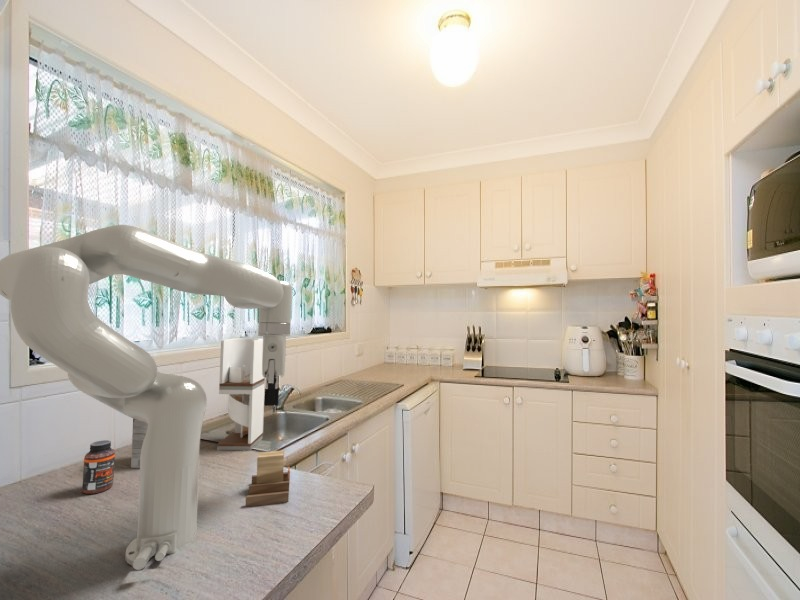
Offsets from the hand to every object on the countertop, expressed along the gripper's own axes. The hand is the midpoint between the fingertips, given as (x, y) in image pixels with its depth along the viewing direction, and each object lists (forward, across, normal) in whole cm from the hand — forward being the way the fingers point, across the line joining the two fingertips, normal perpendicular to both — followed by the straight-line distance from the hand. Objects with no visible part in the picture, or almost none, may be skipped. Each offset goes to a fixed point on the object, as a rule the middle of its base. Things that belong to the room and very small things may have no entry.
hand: (271, 404), depth 90 cm
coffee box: (+22, +29, +34) cm, 50 cm away
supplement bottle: (+22, +13, +40) cm, 48 cm away
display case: (+21, +39, +11) cm, 46 cm away
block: (+20, 0, 0) cm, 20 cm away
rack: (+22, -2, -1) cm, 22 cm away
